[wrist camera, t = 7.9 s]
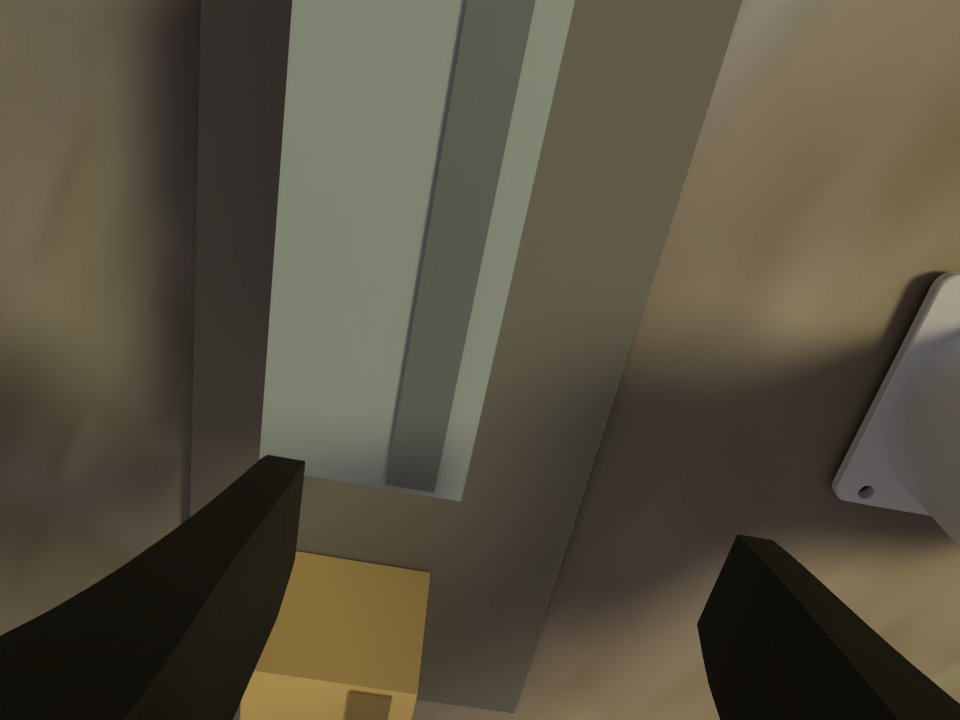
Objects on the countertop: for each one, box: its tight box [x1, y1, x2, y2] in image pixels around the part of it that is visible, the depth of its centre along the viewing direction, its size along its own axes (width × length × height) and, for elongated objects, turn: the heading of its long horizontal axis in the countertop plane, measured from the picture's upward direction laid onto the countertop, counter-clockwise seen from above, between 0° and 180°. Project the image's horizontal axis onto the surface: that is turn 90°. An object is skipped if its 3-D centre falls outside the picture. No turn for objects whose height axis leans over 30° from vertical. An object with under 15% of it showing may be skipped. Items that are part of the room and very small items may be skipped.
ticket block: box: [259, 0, 575, 502], centre depth 17 cm, size 5×12×5 cm, turn 169°
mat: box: [190, 0, 742, 713], centre depth 22 cm, size 13×26×1 cm, turn 169°
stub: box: [240, 551, 430, 720], centre depth 23 cm, size 5×6×5 cm
